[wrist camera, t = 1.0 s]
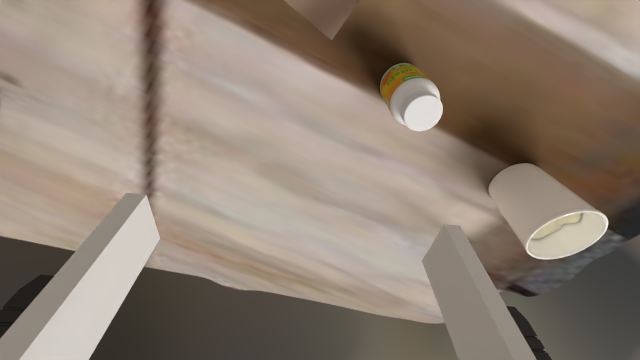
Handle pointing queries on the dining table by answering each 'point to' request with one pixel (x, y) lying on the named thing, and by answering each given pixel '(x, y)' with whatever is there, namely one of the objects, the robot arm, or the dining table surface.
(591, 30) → the dining table surface
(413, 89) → the supplement bottle
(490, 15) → the dining table surface
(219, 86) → the dining table surface
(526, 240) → the candle holder
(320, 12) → the walnut lid
